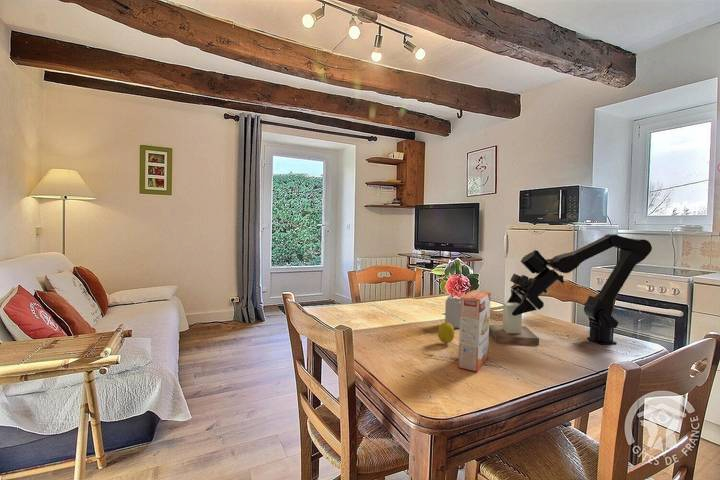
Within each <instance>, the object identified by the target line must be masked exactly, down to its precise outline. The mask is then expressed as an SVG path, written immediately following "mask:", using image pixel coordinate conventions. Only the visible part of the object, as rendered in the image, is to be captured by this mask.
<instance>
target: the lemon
mask: <svg viewBox="0 0 720 480" xmlns="http://www.w3.org/2000/svg"><path fill="white" fill-rule="evenodd" d="M437 336H438V338H439V340H440V341H441V342H442V343H443V344H444V345H448V344H449V343H451V342H453V340H454V338H455V328H453V326H452V325H451V324H450V323H448V322H447V321H446V322H445V321H444V322H442V323H441V324H439V326H438V330H437Z"/></svg>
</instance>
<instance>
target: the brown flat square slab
mask: <svg viewBox="0 0 720 480" xmlns="http://www.w3.org/2000/svg"><path fill="white" fill-rule="evenodd" d="M489 335H491V337H492V339H493V340H494V341H495V343H497V344H512V345H529V346H532V345H533V346H540V338H539V337H538V336H537V335H536V334H535V333H534V332H532V330H530V328H528V327H527V326H526V325H525V326H524V325H522V327H521V333H506V331H505V330H504V329H503V324H489Z"/></svg>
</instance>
